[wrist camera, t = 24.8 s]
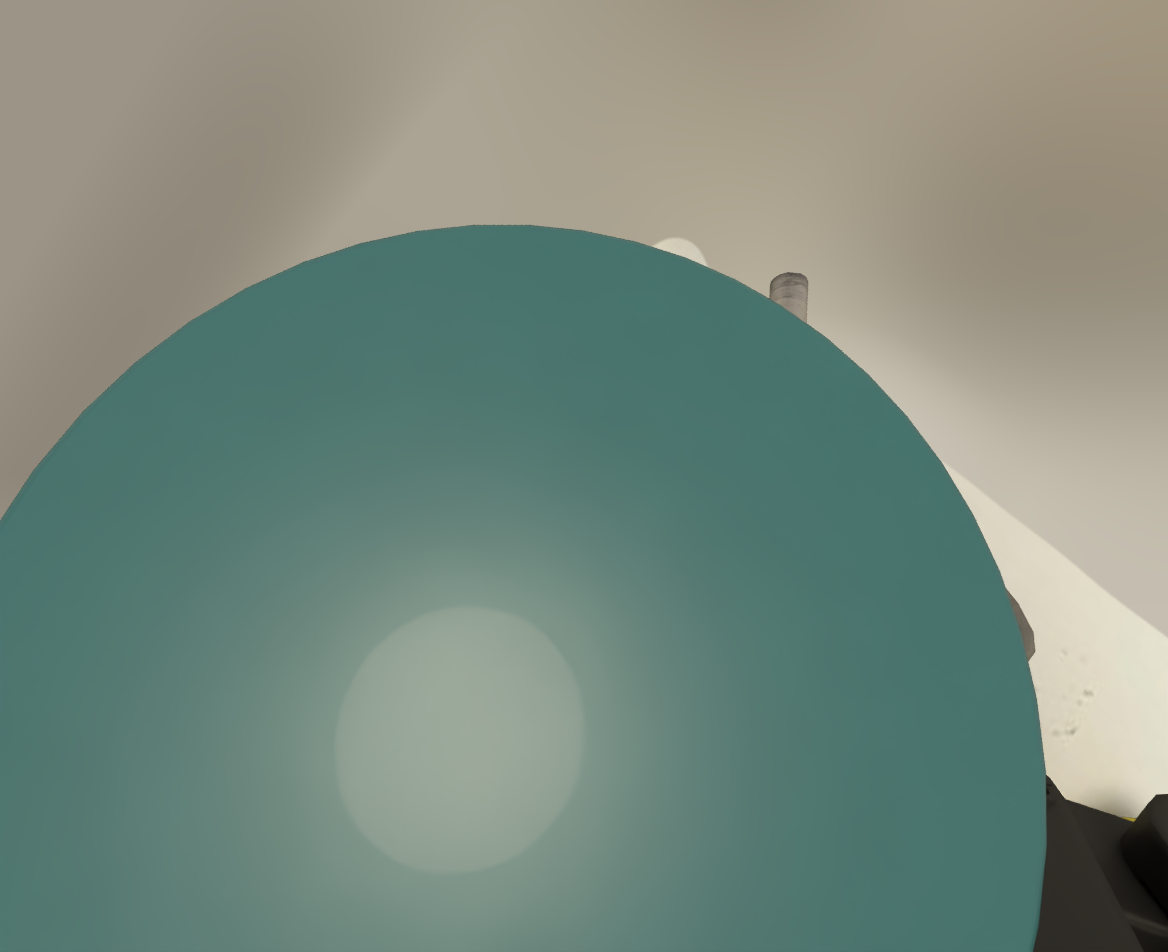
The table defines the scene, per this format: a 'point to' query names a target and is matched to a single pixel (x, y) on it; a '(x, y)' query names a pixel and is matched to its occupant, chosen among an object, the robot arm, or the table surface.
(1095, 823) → the robot arm
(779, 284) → the rod
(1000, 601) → the tin
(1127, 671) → the table surface
